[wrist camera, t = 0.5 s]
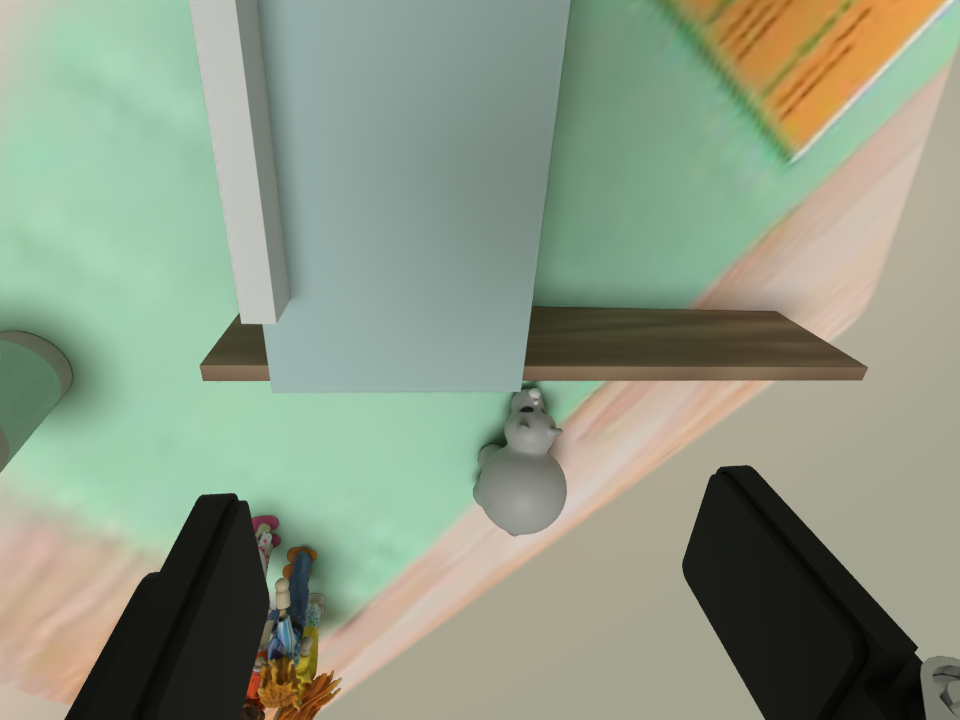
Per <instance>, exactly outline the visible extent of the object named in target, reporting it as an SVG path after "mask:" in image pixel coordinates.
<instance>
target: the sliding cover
mask: <svg viewBox="0 0 960 720" xmlns="http://www.w3.org/2000/svg"><path fill="white" fill-rule="evenodd" d="M570 3H571V0H189V5H190V11H191V17H192V23H193V30H194V36H195V42H196V48H197V54H198V60H199V66H200V73H201V79H202V85H203V91H204V97H205V103H206V109H207V115H208V122H209V128H210V134H211V140H212V146H213V152H214V158H215V165H216V171H217V177H218V183H219V189H220V195H221V201H222V207H223V214H224V220H225V226H226V232H227V238H228V244H229V250H230V257H231V263H232V269H233V275H234V281H235V287H236V293H237V299H238V306H239V312H240V318H241V324H262V325H263V332H264V339H265V346H266V353H267V360H268V367H269V374H270V381H271V388H272V393H358V392H521V386H522V378H523V370H524V362H525V354H526V347H527V339H528V331H529V323H530V315H531V308H532V300H533V292H534V284H535V276H536V268H537V261H538V253H539V245H540V237H541V229H542V222H543V214H544V206H545V198H546V190H547V182H548V175H549V167H550V159H551V151H552V143H553V135H554V128H555V120H556V112H557V104H558V96H559V89H560V81H561V73H562V65H563V57H564V49H565V42H566V34H567V26H568V18H569V10H570Z"/></svg>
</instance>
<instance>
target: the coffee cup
mask: <svg viewBox="0 0 960 720" xmlns="http://www.w3.org/2000/svg"><path fill="white" fill-rule="evenodd" d="M71 383H72V370H71V367H70V364H69V362H68V361H67V359H66V358H65V356H64V355H63V354H62V353H61V352H60V351H59V350H58V349H57V348H56V347H55V346H54V345H52V344H51V343H49V342H48V341H46V340H44V339H42V338H40V337H38V336H35V335H32V334H29V333H25V332H19V331H4V332H0V472H1V471H2V470H3V469H4V468H5V466H6V465H7V464H8V463H9V462H10V460H11V459H12V458H13V457H14V455H15V454H16V453H17V452H18V451H19V449H20V448H21V447H22V446H23V444H24V443H25V442H26V441H27V440H28V438H29V437H30V436H31V435H32V433H33V432H34V431H35V430H36V429H37V427H38V426H39V425H40V424H41V422H42V421H43V420H44V419H45V417H46V416H47V415H48V414H49V413H50V411H51V410H52V409H53V408H54V406H55V405H56V404H57V403H58V401H59V400H60V399H61V398H62V396H63V395H64V394H65V393H66V391H67V390H68V389H69V387H70V385H71Z"/></svg>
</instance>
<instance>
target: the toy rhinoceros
mask: <svg viewBox="0 0 960 720" xmlns="http://www.w3.org/2000/svg"><path fill="white" fill-rule="evenodd" d="M504 433H505V437H506V439H507V445H506V446H505V447H504V448H501V447H500V446H498V445H495V444H490V445H487V446H485V447H484V448H483V449H482V450H481V451H480V452H479V455H478V463H479V465H480V467H481V469H482V472H481V474H480V478H479V481H478V482H477V483H476V484H475V486H474V488H473V496H474V499H475V501H476V502H477V503H478V504H479V505H480V506H481V507H483V509H484V511H485V513H486V514H487V516H488V517H489V518H490V520H491V521H492V522H493V523H495V524H496V525H497V526H498V527H500V528H502V529H503V530H505V531H507V532H508V533H509V534H510V535H512V536H518V535H521V534H532V533H536V532H539V531H541V530H543V529H545V528H547V527H548V526H550V525H551V524H552V523H553V522H554V521H555V520H556V519H557V518H558V516H559V515H560V513H561V511H562V509H563V507H564V504H565V501H566V494H567V486H566V479H565V476H564V473H563V471H562V468H561V467H560V465H559V464H558V462H557V461H556V460H555V459H554V458H553V456H551V455H550V454H549V453H548V449H549V448H550V447H551V446H552V444H553V442H554V440H555V437H556V436H559V435H561V434H562V433H563V431H562V430H561V429H559V428H556V425H555V422H554V420H553V419H552V417H550V416H549V415H548V414H547V413H546V411H545V409H544V403H543V399H542V397H541V391H540V389H538V388H533V389H523V390H521V392H517V393H516V394H515V395H514V396H513V398H512V401H511V414H510V416H509V417H508V419H507V421H506V423H505V428H504Z"/></svg>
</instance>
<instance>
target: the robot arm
mask: <svg viewBox="0 0 960 720" xmlns="http://www.w3.org/2000/svg"><path fill="white" fill-rule="evenodd" d="M682 568H683V573H684V577H685V579H686V581H687V583H688V585H689V586H690V588H691V590H692V592H693V593H694V595H695V597H696V599H697V600H698V602H699V604H700V606H701V608H702V609H703V611H704V613H705V614H706V616H707V618H708V620H709V622H710V623H711V625H712V627H713V629H714V630H715V632H716V634H717V636H718V637H719V639H720V641H721V643H722V644H723V646H724V648H725V650H726V651H727V653H728V655H729V657H730V658H731V660H732V662H733V664H734V665H735V667H736V669H737V671H738V673H739V674H740V676H741V678H742V679H743V681H744V683H745V685H746V687H747V688H748V690H749V692H750V694H751V695H752V697H753V699H754V701H755V702H756V704H757V706H758V708H759V710H760V711H761V713H762V715H763V716H764V718H765V720H960V660H959V659H956V658H952V657H944V656H936V657H932V658H928V659H927V660H926V661H925V662H924V663H923V662H922V661H921V660H920V659H919V657H918V656H917V655H916V654H915V651H916V650H917V648H918V647H917V646H916V644H915V643H914V642H913V641H912V640H911V639H910V638H909V637H908V636H907V635H906V634H905V632H904V631H903V630H902V629H901V628H900V627H899V626H898V625H897V624H896V623H895V622H894V621H893V619H892V618H890V616H889V615H888V614H887V613H886V612H885V611H884V610H883V609H882V607H881V606H880V605H879V604H878V603H877V602H876V601H875V600H874V599H873V598H872V597H871V595H870V594H869V593H868V592H867V591H866V590H865V589H864V588H863V587H862V586H861V585H860V584H859V582H858V581H857V580H856V579H855V578H854V577H853V576H852V575H851V574H850V573H849V572H848V570H847V569H846V568H845V567H844V566H843V565H842V564H841V563H840V562H839V561H838V560H837V558H836V557H835V556H834V555H833V554H832V553H831V552H830V551H829V550H828V549H827V548H826V546H825V545H824V544H823V543H822V542H821V541H820V540H819V539H818V538H817V537H816V536H815V534H814V533H813V532H812V531H811V530H810V529H809V528H808V527H807V526H806V525H805V524H804V523H803V521H802V520H801V519H800V518H799V517H798V516H797V515H796V514H795V513H794V512H793V511H792V509H791V508H790V507H789V506H788V505H787V504H786V503H785V502H784V501H783V500H782V499H781V497H780V496H778V494H777V493H776V492H775V491H774V490H773V489H772V488H771V487H770V486H769V485H768V483H767V482H766V481H765V480H764V479H763V478H762V477H761V476H760V475H759V473H758V472H757V471H756V470H755V469H753V468H752V467H751V466H748V465H745V466H727V467H720V468H719V469H718V470H717V472H716V474H713V475H712V476H711V477H710V479H709V482H708V485H707V488H706V491H705V494H704V497H703V500H702V503H701V507H700V509H699V513H698V516H697V519H696V522H695V525H694V528H693V531H692V534H691V537H690V541H689V544H688V547H687V550H686V553H685V556H684V559H683V563H682ZM268 612H269V592H268V588H267V583H266V579H265V575H264V570H263V566H262V562H261V557H260V553H259V549H258V544H257V540H256V536H255V531H254V527H253V523H252V518H251V514H250V510H249V506H248V503H247V501H239V500H238V497H237V495H236V494H235V493H228V494H209V495H201V496H200V497H199V498H198V499H197V501H196V503H195V505H194V507H193V509H192V511H191V512H190V514H189V516H188V518H187V520H186V522H185V524H184V526H183V528H182V530H181V532H180V534H179V536H178V538H177V539H176V541H175V543H174V545H173V547H172V549H171V551H170V553H169V555H168V557H167V559H166V561H165V563H164V565H163V566H162V568H161V570H160V572H153V573H149V574H148V575H147V576H145V577H144V578H143V579H142V581H141V582H140V584H139V585H138V586H137V588H136V590H135V592H134V594H133V595H132V597H131V599H130V601H129V603H128V605H127V606H126V608H125V610H124V612H123V614H122V615H121V617H120V619H119V621H118V623H117V625H116V626H115V628H114V630H113V632H112V634H111V636H110V637H109V639H108V641H107V643H106V645H105V647H104V648H103V650H102V652H101V654H100V656H99V657H98V659H97V661H96V663H95V665H94V667H93V668H92V670H91V672H90V674H89V676H88V678H87V679H86V681H85V683H84V685H83V687H82V688H81V690H80V692H79V694H78V696H77V698H76V699H75V701H74V703H73V705H72V707H71V709H70V710H69V712H68V714H67V716H66V718H65V719H64V720H240V717H241V713H242V709H243V706H244V702H245V698H246V695H247V691H248V687H249V683H250V680H251V676H252V672H253V668H254V665H255V661H256V657H257V654H258V650H259V646H260V642H261V639H262V635H263V631H264V628H265V624H266V620H267V616H268Z"/></svg>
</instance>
